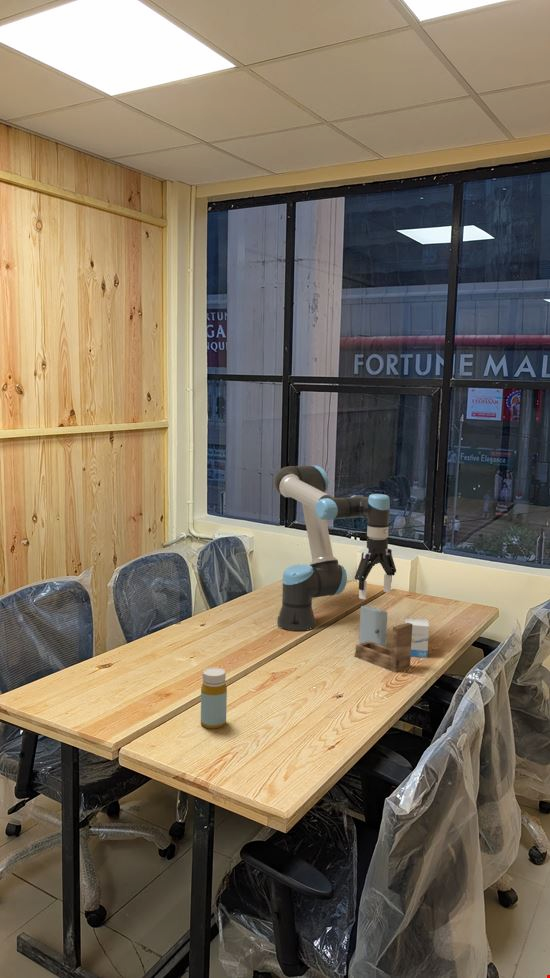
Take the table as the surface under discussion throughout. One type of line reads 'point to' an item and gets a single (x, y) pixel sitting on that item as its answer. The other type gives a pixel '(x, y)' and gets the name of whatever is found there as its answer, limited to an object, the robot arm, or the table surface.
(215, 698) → the bottle
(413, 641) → the ink box
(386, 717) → the table surface
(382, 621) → the door
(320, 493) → the robot arm
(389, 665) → the track
